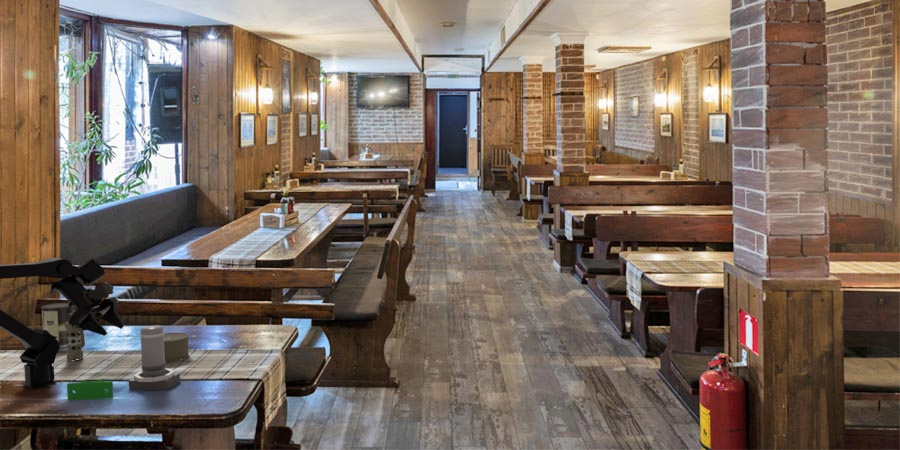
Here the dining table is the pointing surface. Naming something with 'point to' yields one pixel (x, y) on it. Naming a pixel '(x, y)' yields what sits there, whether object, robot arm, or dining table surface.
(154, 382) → the octagonal tray on plate
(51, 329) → the coffee can
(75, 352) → the grenade model
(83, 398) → the pipe clamp
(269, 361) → the dining table surface
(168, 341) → the can
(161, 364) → the lens
